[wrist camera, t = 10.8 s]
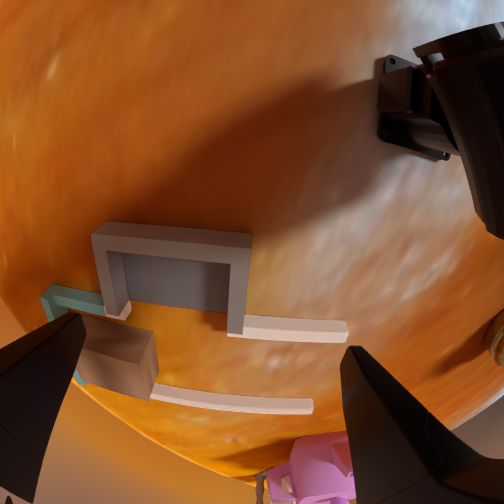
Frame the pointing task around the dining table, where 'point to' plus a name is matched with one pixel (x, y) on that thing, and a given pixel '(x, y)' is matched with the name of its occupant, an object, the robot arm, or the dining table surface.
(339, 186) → the dining table surface
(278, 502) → the skyscraper
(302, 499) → the teakettle
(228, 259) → the walled track with bay
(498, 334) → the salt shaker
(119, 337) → the block
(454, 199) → the dining table surface
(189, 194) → the dining table surface
